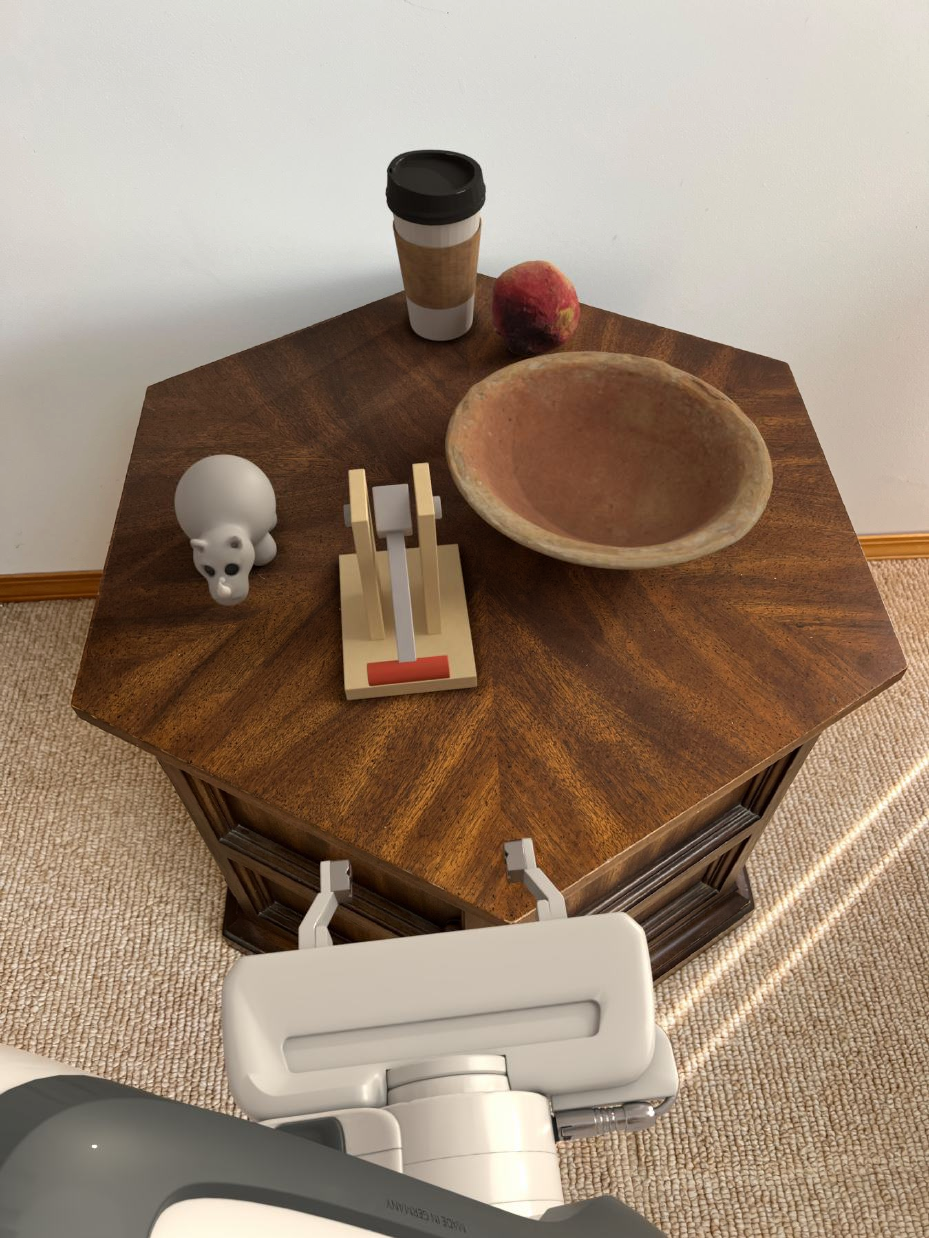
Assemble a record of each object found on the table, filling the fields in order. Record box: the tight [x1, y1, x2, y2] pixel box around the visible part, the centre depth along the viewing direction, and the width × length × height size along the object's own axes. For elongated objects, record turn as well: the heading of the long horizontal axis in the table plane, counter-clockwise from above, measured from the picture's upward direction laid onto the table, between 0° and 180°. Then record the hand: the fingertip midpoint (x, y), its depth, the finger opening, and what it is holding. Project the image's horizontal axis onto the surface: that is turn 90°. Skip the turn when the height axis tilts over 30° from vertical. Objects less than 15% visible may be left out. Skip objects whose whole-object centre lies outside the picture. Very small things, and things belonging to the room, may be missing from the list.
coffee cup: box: [384, 149, 487, 342], centre depth 83 cm, size 8×8×15 cm
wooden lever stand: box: [338, 462, 478, 701], centre depth 63 cm, size 12×9×14 cm
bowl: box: [444, 350, 774, 571], centre depth 71 cm, size 24×24×8 cm
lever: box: [367, 483, 450, 686], centre depth 58 cm, size 12×5×2 cm, turn 7°
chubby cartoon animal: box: [174, 454, 278, 607], centre depth 68 cm, size 7×12×8 cm, turn 5°
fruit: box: [491, 259, 581, 357], centre depth 84 cm, size 8×8×8 cm
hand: (426, 853), depth 49 cm, fingers open, 8 cm apart
